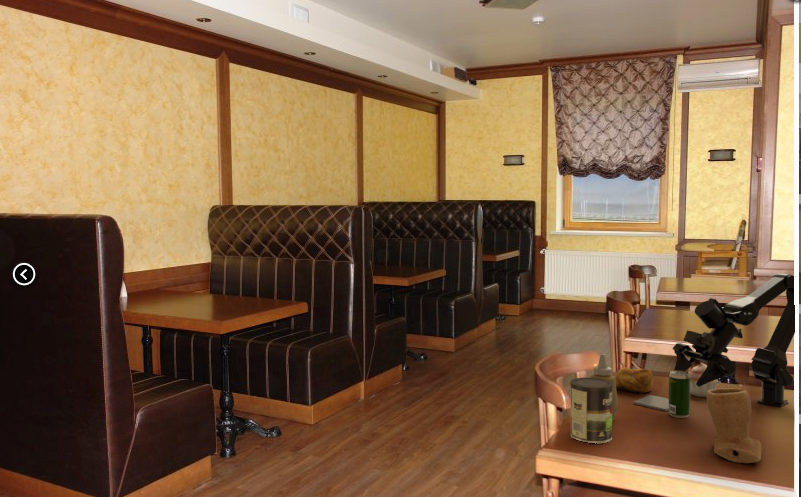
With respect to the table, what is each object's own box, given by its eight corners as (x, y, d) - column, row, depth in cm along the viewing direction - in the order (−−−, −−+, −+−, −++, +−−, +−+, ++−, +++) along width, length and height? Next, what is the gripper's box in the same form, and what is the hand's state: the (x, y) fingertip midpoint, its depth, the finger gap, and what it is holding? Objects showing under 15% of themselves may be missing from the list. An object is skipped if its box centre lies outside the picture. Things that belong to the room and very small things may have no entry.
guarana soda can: (682, 419, 179) (682, 376, 178) (664, 414, 183) (665, 372, 182) (693, 416, 181) (694, 373, 181) (676, 411, 186) (676, 369, 185)
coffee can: (616, 434, 168) (617, 380, 167) (606, 447, 159) (606, 390, 159) (577, 427, 174) (577, 375, 173) (564, 439, 165) (564, 384, 164)
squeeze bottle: (585, 422, 177) (585, 356, 176) (588, 413, 185) (589, 350, 184) (616, 425, 174) (617, 359, 173) (619, 416, 182) (619, 352, 181)
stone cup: (708, 438, 164) (709, 379, 163) (762, 447, 158) (764, 385, 157) (701, 459, 151) (702, 395, 150) (760, 469, 145) (761, 402, 144)
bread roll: (607, 390, 208) (607, 365, 207) (615, 383, 216) (615, 359, 215) (650, 396, 201) (650, 370, 200) (656, 388, 209) (657, 363, 208)
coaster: (649, 396, 200) (649, 394, 200) (682, 403, 193) (682, 401, 193) (633, 403, 193) (633, 401, 193) (666, 411, 186) (666, 409, 186)
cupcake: (681, 389, 207) (682, 358, 206) (713, 391, 205) (714, 359, 204) (688, 398, 198) (689, 365, 197) (722, 399, 196) (722, 366, 195)
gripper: (678, 315, 192) (646, 355, 189) (728, 326, 174) (693, 370, 171) (700, 340, 194) (668, 380, 192) (751, 353, 177) (716, 397, 174)
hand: (685, 381), depth 182 cm, fingers open, 9 cm apart
